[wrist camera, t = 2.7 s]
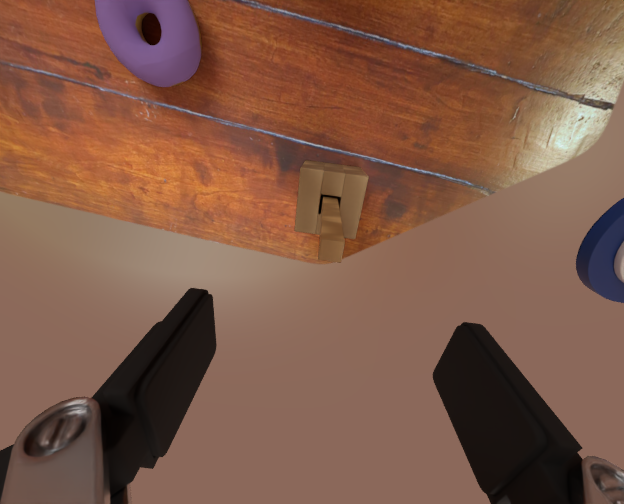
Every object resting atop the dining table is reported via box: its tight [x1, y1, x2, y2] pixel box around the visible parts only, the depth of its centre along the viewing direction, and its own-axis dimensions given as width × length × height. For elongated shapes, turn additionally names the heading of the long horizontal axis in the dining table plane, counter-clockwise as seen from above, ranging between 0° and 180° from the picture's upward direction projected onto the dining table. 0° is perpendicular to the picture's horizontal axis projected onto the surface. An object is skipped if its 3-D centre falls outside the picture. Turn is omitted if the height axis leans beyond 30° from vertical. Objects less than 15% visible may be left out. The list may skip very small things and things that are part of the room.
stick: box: [318, 194, 345, 263], centre depth 24 cm, size 2×2×18 cm
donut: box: [95, 0, 202, 87], centre depth 24 cm, size 10×9×5 cm
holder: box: [295, 160, 369, 239], centre depth 29 cm, size 7×7×7 cm
